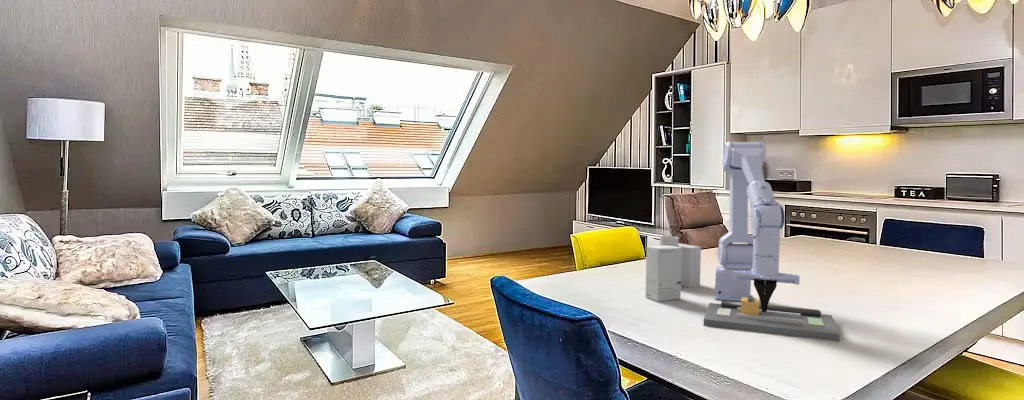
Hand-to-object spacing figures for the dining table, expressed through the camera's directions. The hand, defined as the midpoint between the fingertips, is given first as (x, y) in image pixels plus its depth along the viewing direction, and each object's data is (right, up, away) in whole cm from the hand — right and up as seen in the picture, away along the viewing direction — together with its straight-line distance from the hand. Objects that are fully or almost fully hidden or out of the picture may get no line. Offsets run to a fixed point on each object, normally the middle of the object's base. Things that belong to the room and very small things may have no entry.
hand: (764, 310), depth 134 cm
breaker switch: (-3, -1, +1) cm, 3 cm away
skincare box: (-18, -1, +24) cm, 30 cm away
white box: (-11, 0, +40) cm, 42 cm away
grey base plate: (+1, -3, 0) cm, 3 cm away
